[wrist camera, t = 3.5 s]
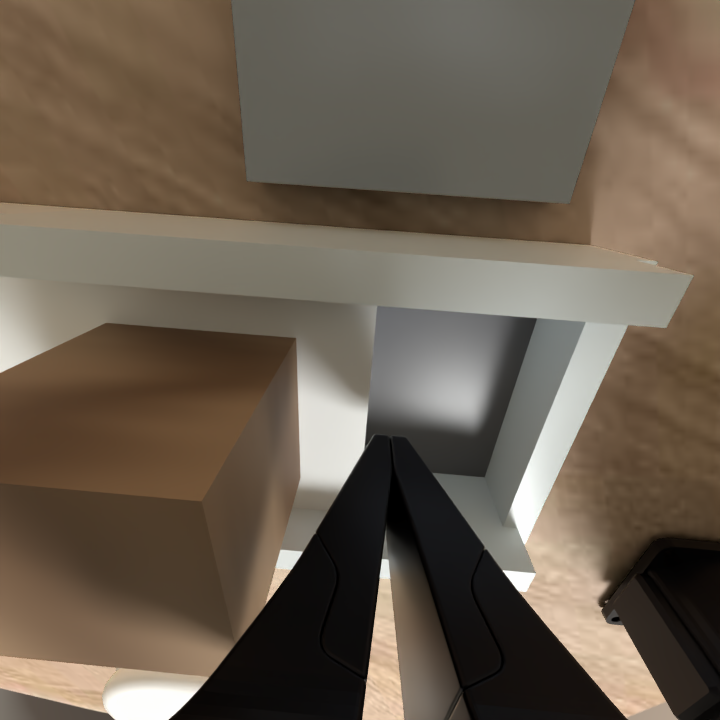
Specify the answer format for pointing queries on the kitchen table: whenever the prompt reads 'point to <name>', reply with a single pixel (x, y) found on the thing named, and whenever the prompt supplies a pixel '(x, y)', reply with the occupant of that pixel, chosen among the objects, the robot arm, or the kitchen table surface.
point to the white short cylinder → (148, 694)
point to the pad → (425, 93)
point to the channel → (362, 338)
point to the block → (144, 494)
